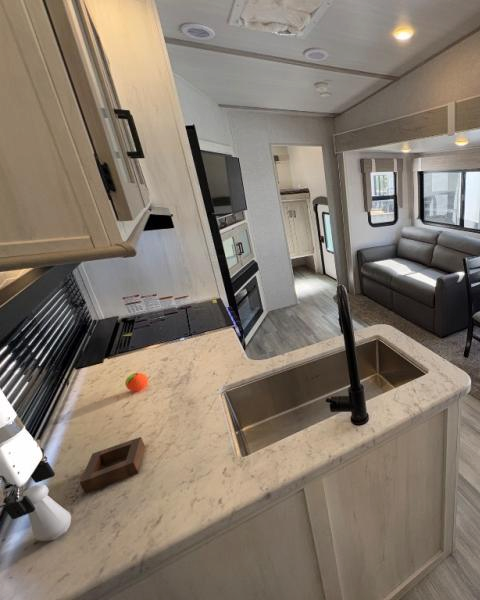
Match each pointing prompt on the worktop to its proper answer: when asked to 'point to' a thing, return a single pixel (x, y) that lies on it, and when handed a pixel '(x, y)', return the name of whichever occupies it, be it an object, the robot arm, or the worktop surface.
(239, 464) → the worktop surface
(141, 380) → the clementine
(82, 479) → the holder
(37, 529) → the salt shaker
